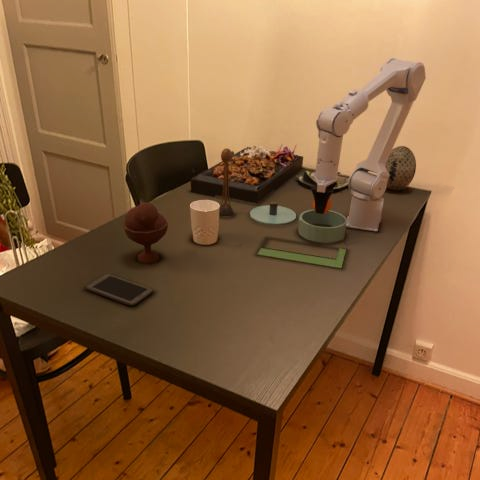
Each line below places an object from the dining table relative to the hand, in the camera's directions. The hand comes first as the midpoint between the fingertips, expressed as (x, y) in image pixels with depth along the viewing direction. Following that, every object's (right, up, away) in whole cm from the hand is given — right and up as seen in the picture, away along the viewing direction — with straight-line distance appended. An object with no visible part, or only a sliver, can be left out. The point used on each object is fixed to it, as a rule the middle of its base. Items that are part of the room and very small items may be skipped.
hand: (321, 209), depth 129 cm
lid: (-12, +2, +16) cm, 20 cm away
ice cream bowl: (-46, -14, -8) cm, 49 cm away
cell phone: (-50, -24, -22) cm, 59 cm away
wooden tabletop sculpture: (-26, +2, +17) cm, 31 cm away
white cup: (-32, -8, +2) cm, 33 cm away
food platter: (-18, +22, +45) cm, 53 cm away
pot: (+1, -5, +7) cm, 9 cm away
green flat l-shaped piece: (-6, -12, -3) cm, 14 cm away
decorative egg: (+33, +16, +40) cm, 54 cm away
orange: (0, +1, -1) cm, 2 cm away
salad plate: (+8, +19, +42) cm, 47 cm away
